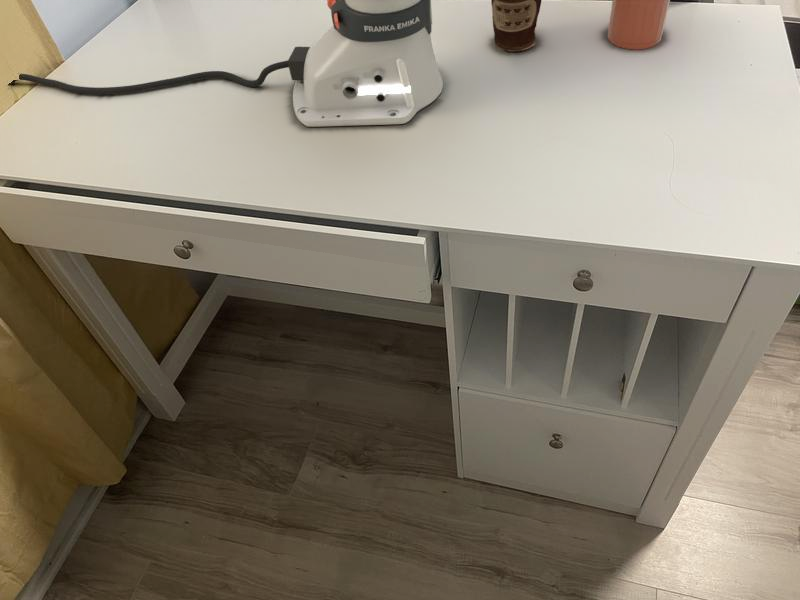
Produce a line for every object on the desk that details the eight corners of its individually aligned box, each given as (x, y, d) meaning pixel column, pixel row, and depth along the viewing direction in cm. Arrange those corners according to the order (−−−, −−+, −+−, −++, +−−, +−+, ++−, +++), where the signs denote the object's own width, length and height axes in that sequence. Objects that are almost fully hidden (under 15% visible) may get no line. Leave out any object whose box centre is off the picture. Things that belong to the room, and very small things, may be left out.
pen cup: (617, 52, 100) (628, -14, 93) (600, 27, 106) (610, -38, 98) (669, 45, 100) (684, -22, 93) (650, 20, 106) (663, -46, 98)
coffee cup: (540, 58, 101) (546, -29, 91) (485, 57, 103) (486, -29, 93) (543, 29, 107) (549, -56, 97) (491, 29, 108) (492, -55, 99)
